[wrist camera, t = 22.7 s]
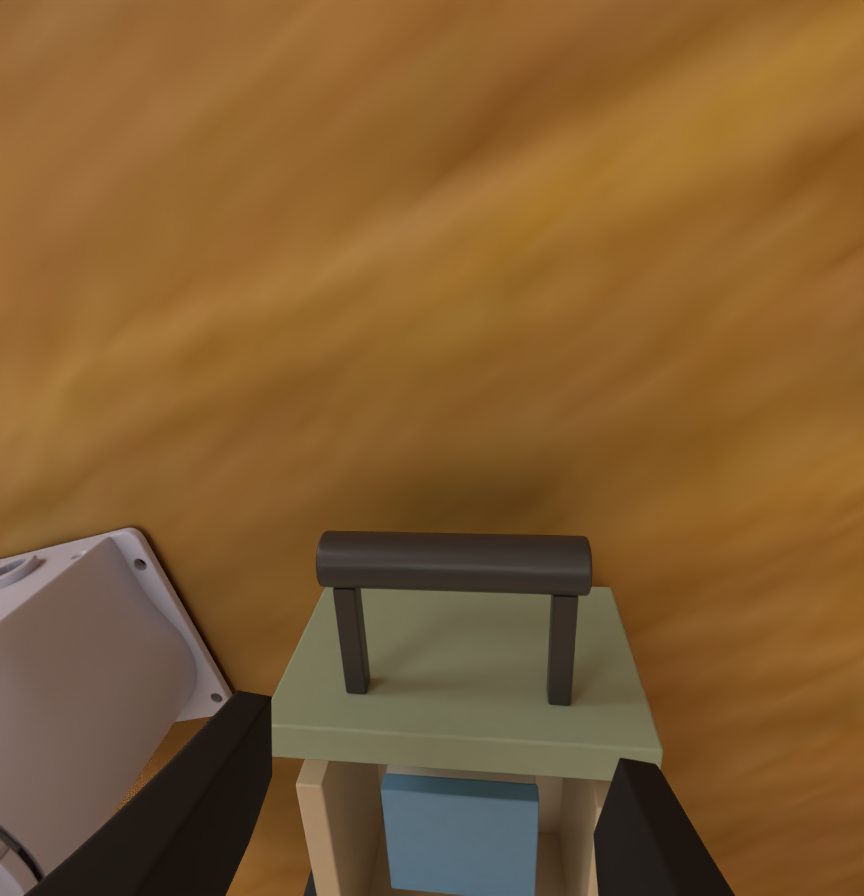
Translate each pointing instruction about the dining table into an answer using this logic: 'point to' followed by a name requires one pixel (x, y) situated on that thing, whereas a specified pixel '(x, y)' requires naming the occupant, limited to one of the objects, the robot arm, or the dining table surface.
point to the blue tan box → (461, 831)
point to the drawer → (458, 692)
